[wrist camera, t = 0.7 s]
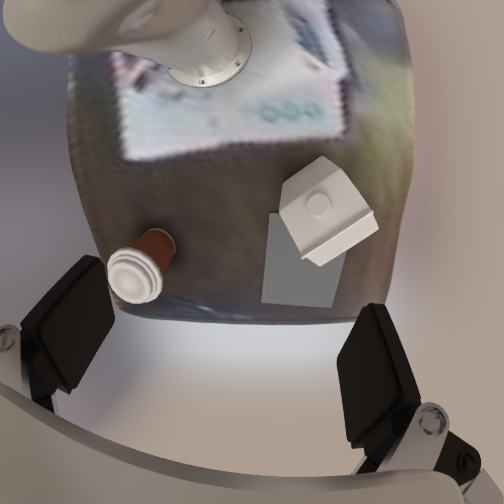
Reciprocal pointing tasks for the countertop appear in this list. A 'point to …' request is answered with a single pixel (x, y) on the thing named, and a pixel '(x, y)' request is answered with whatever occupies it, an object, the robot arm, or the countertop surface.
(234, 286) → the countertop surface
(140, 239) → the coffee cup
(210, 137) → the countertop surface
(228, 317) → the countertop surface
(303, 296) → the mat
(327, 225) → the milk carton
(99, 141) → the countertop surface
